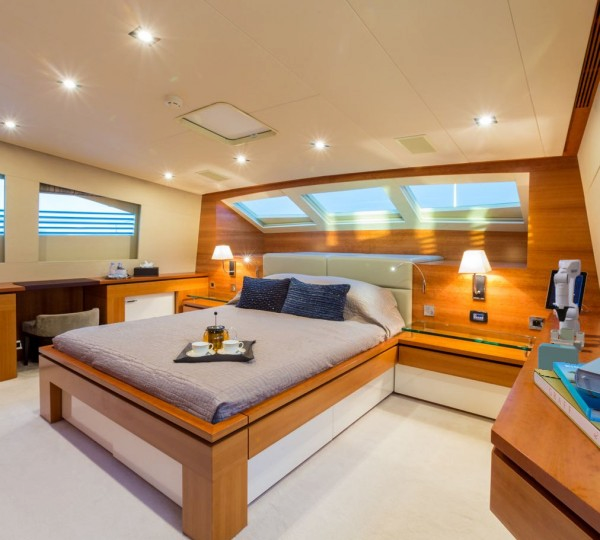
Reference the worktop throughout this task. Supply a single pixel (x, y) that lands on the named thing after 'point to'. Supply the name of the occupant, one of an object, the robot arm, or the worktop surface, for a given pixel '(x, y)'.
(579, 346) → the block
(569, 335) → the green module
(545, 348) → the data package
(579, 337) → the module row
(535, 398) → the worktop surface
